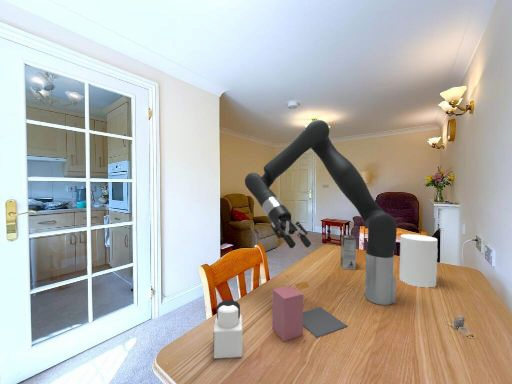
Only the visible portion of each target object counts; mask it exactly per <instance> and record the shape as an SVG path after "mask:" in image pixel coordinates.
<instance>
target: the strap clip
mask: <svg viewBox="0 0 512 384" xmlns="http://www.w3.org/2000/svg"><path fill="white" fill-rule="evenodd" d="M459 319H460V320H459ZM465 320H466V319H465V317H464V316H462V315H456V317H455V319H454V321H453V322H454V327H455V328H457V327H458V328H459V327H463V328H461V329H457V331H458V330H460V331H462V332H463V333H465V332H467V330H469V329H468V328H465V327H464V325H465V322H466V321H465ZM455 328H454V329H455ZM469 331H471V330H469ZM465 334H466V333H465Z"/></svg>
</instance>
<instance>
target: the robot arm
mask: <svg viewBox="0 0 512 384" xmlns="http://www.w3.org/2000/svg"><path fill="white" fill-rule="evenodd" d="M329 136H330V127H329V125H328V123H327V122H326V121H324V120H322V119H315V120H313V121H311V122H310V123H308V125H307V126H306V127H305V128H304V130H302V131H301V133H300V134H299V135H298V136H297V138H295V139H294V140H293V141H292V142H291V143H290V144H289V145H288V146H287V147H286V148H284V149H283V150H282V151H280V152H279V153H278V154H277V155H276V156H274V157H273V158H272V159H270V161H268V162H267V163H266V164H265V165H264V166H263V171H264V173H263V175H262V176H261V175H260V174H259V173H257V172H250V173H248V174H247V175H246V176H245V178H244V184H245V187H246V188H247V189H248V191H249V192H250V193H251V195H253V197H254V198H255V199H256V201H257V203H259V204H258V205H260V207H261V208H262V210H263V212H264V214H265V215H266V217H267V218H268V219H269V221H270V222H271V224H270V227H271V229H272V231H273V232H274V234H275V236H276V237H277V239H281V240H284V241H285V243H286V244H287V246H288V247H289V249H293V248H294V247H295V246H296V242H295V241H294V239H293V238H292V236H293V237H296V238H298V239H299V240H300V241H301V242H302V244H303V245H304V246H305V247H306V248H309V247H310V246H311V245H312V242H311V241H310V239H309V238H308V237H307V235H308V234H309V233H308V231H307V230H306V228H304V227H303V226H302V224H301V223H300V221H296V222H294V221H293V220H292V214H291V212H290V211H289V209H288V208H287V207H286V206H285V204H284V203H283V201H281V200H280V199H279V198H278V196H276V193H274V192H273V190H272V189H270V188H271V186H272V185H273V183H274V182H275V181H276V179H277V178H279V176H281V175H282V174H283V173H285V172H286V171H287V170H288V169H289V168H291V167H292V165H294V163H295V162H296V161H297V160H298V159H299V158H300V157H301V156H302V155H304V153H306V152H308V151H309V150H310V149H311V150H312V151H313V153H315V154H316V155H317V157H318V158H319V159H320V161H321V162H322V164H323V165H324V167H325V169H326V171H327V173H328V174H329V175H330V177H331V178H332V180H333V181H334V183H335V184H336V186H337V187H338V188H339V190H340V191H341V192H342V194H343V195H344V196H345V197H346V198H347V200H348V201H349V202H350V203H351V204H352V205H353V206H354V208H355V209H356V211H357V212H358V214H359V215H360V217H361V219H362V221H363V222H364V224H365V226H366V229H367V244H366V245H365V246H366V247H365V288H364V294H365V295H364V296H365V298H366V300H367V301H369V302H371V303H373V304H377V305H382V306H389V305H392V304H396V289H397V288H396V286H397V285H396V282H397V281H396V280H397V279H396V276H394V265H395V263H394V261H395V250H396V246H397V229H398V228H397V227H398V226H397V221H396V220H395V218H394V217H393V216H392V215H390V214H389V213H387V212H385V210H383V208H382V207H380V205H379V204H378V203H377V202H376V201H375V199H374V198H373V196H372V195H371V192H370V190H369V188H368V185H367V184H366V182H365V180H364V178H363V176H362V175H361V174H360V172H359V171H358V170H357V168H356V167H355V166H354V164H353V163H352V162H351V161H350V160H349V159H347V158H346V157H345V156H344V155H343V154H342V153H341V152H339V151H338V150H337V148H336V147H335V146H334V144H333V142H332V141H331V139H330V138H329ZM291 235H292V236H291Z"/></svg>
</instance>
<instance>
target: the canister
mask: <svg viewBox="0 0 512 384" xmlns="http://www.w3.org/2000/svg"><path fill="white" fill-rule="evenodd" d="M399 246H400V247H399V280H400V281H401V282H402V281H403V282H402V283H404V282H405V283H404V284H406V283H407V284H406V285H410V286H412V287H415V286H417V287H416V288H420V287H426V288H425V289H429V288H428V287H434V286H436V287H437V273H438V272H437V270H438V269H437V268H438V238H436V237H434V236H433V237H432V236H429V235H423V234H415V233H414V234H413V233H412V234H411V233H408V234H407V233H403V234H401V235H400V245H399ZM434 288H435V287H434Z"/></svg>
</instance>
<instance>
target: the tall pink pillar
mask: <svg viewBox="0 0 512 384" xmlns="http://www.w3.org/2000/svg"><path fill="white" fill-rule="evenodd" d="M271 311H272V313H271V314H272V318H271V319H272V320H271V321H272V325H271V326H272V327H271V329H272V330H273V331H274V332H275V333H276V334H277V336H278V337H279V338H280V339H281V340H282V341H283V342H287V341H290V340H293V339H296V338H298V337H301V336H303V335H304V333H303V332H304V326H303V312H304V293H302V292H301V291H300V290H298V289H297V288H295V286H292V285H291V284H290V285H285V286H282V287H277V288H272V310H271Z"/></svg>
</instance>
